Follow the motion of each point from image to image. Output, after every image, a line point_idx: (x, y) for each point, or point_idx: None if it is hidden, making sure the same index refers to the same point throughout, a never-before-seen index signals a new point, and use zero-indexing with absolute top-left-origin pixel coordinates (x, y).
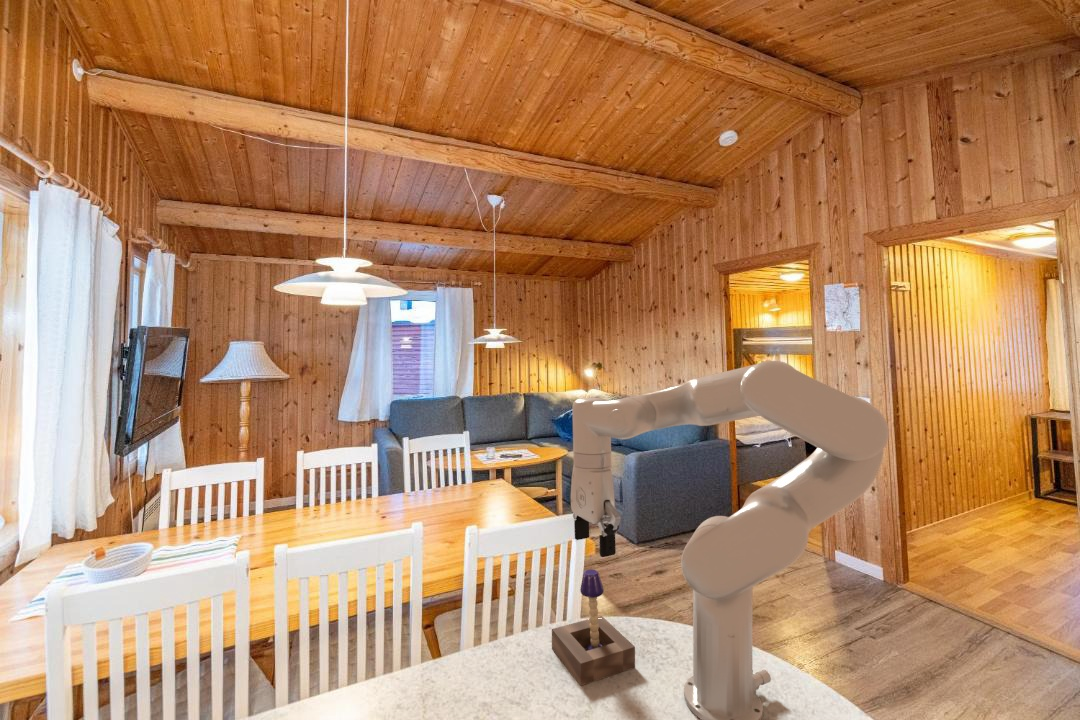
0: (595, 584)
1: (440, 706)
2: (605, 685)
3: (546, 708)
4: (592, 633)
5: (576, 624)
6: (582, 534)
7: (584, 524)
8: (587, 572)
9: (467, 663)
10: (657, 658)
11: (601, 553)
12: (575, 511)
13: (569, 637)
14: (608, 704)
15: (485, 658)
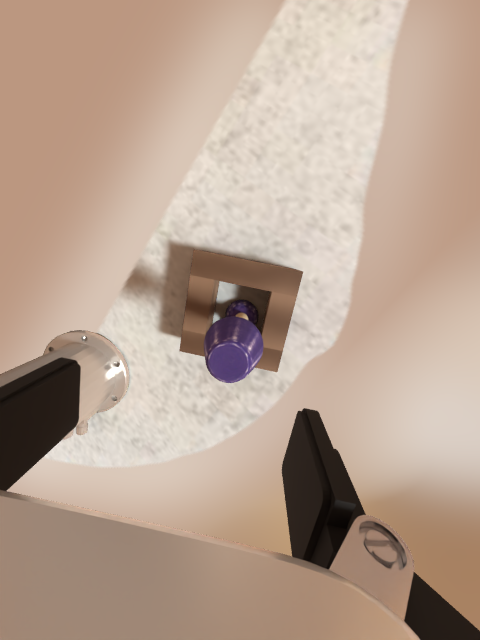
0: (205, 346)
1: (295, 7)
2: (184, 280)
3: (192, 176)
4: (237, 316)
5: (285, 318)
6: (293, 452)
7: (300, 518)
8: (233, 353)
9: (364, 111)
10: (186, 378)
11: (51, 363)
12: (248, 598)
13: (261, 281)
14: (154, 258)
15: (353, 151)
